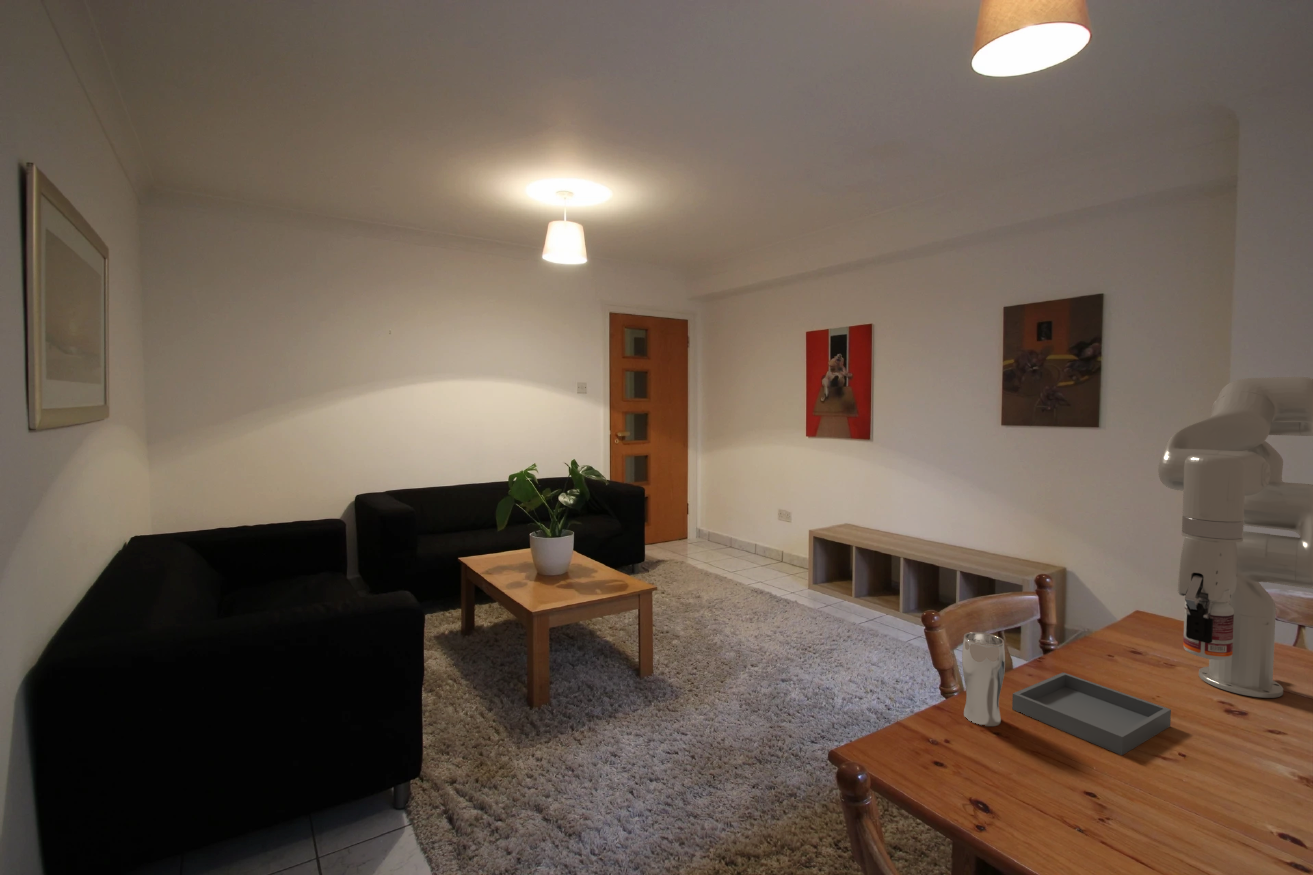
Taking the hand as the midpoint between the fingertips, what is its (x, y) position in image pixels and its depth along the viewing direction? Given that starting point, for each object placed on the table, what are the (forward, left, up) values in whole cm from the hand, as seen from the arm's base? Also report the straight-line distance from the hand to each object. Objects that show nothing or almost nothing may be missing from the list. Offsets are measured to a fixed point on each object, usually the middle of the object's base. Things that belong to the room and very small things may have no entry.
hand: (1207, 634), depth 103 cm
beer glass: (+22, -25, -19) cm, 39 cm away
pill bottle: (0, 0, -3) cm, 3 cm away
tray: (+5, -15, -19) cm, 25 cm away
